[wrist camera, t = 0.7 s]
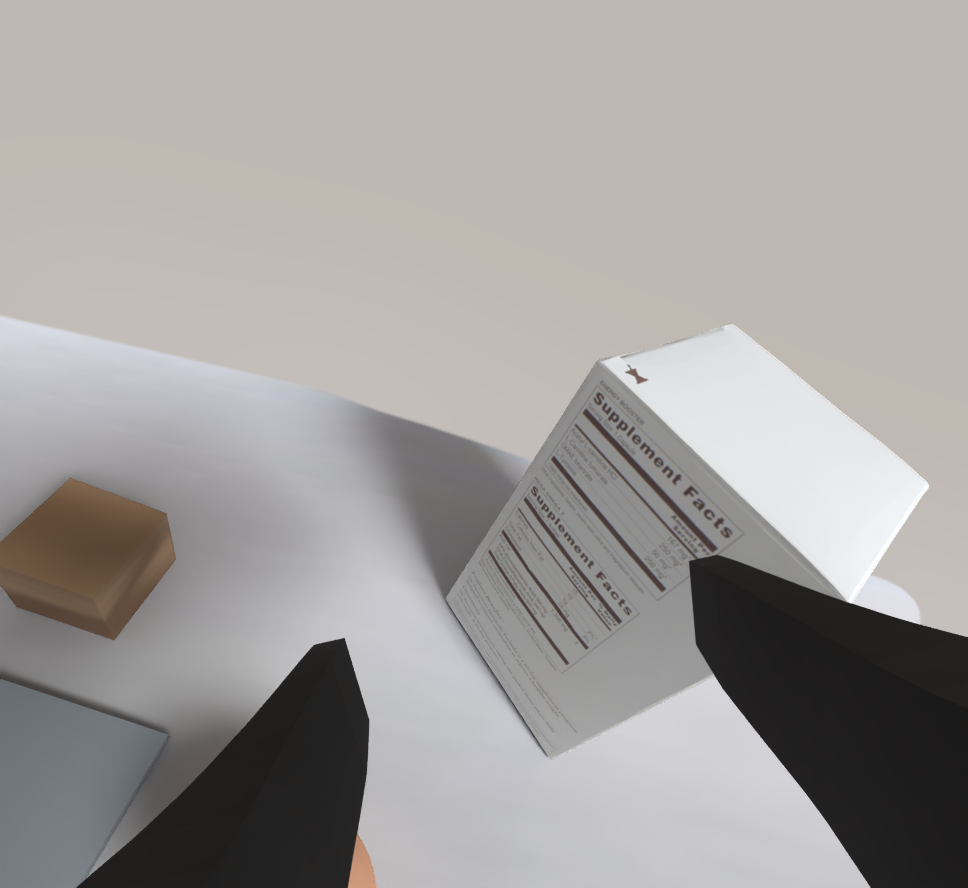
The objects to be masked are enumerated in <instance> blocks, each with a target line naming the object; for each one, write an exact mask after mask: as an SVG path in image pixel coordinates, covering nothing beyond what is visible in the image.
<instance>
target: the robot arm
mask: <svg viewBox="0 0 968 888" xmlns="http://www.w3.org/2000/svg"><path fill="white" fill-rule="evenodd" d="M689 570H690V582H691V594H692V605H693V617H694V629H695V641H696V646H697V647H698V649H699V651H700V652H701V654H702V656H703V657H704V659H705V661H706V662H707V664H708V666H709V668H710V669H711V671H712V672H713V674H714V675H715V677H716V679H717V680H718V682H719V683H720V685H721V687H722V688H723V690H724V691H725V692H726V693H727V695H728V696H729V697H730V699H731V700H732V701H733V702H734V704H735V705H736V706H737V708H738V709H739V710H740V711H741V713H742V714H743V715H744V716H745V718H746V719H747V720H748V722H749V723H750V724H751V725H752V727H753V728H754V729H755V730H756V732H757V733H758V734H759V735H760V737H761V738H762V739H763V740H764V742H765V743H766V744H767V745H768V747H769V748H770V749H771V750H772V752H773V753H774V754H775V755H776V757H777V758H778V759H779V760H780V762H781V763H782V764H783V765H784V767H785V768H786V769H787V770H788V772H789V773H790V774H791V775H792V777H793V778H794V779H795V780H796V782H797V783H798V784H799V785H800V787H801V788H802V789H803V790H804V792H805V793H806V794H807V796H808V797H809V798H810V800H811V801H812V802H813V804H814V805H815V806H816V808H817V809H818V810H819V812H820V813H821V815H822V816H823V817H824V819H825V820H826V821H827V823H828V824H829V826H830V827H831V829H832V830H833V832H834V833H835V835H836V836H837V838H838V839H839V841H840V842H841V844H842V845H843V847H844V848H845V850H846V851H847V853H848V854H849V856H850V857H851V859H852V860H853V862H854V863H855V865H856V866H857V868H858V869H859V871H860V872H861V874H862V875H863V877H864V878H865V880H866V881H867V883H868V884H869V886H870V887H871V888H968V637H964V636H961V635H957V634H953V633H949V632H946V631H942V630H938V629H934V628H931V627H927V626H923V625H919V624H915V623H912V622H909V621H905V620H902V619H898V618H895V617H892V616H888V615H885V614H882V613H879V612H876V611H873V610H870V609H867V608H864V607H861V606H858V605H855V604H852V603H849V602H846V601H843V600H840V599H837V598H834V597H832V596H829V595H826V594H823V593H820V592H818V591H815V590H812V589H810V588H807V587H804V586H801V585H799V584H796V583H794V582H791V581H788V580H786V579H783V578H780V577H778V576H775V575H773V574H770V573H767V572H765V571H762V570H760V569H757V568H754V567H752V566H749V565H746V564H744V563H741V562H738V561H736V560H733V559H730V558H727V557H723V556H720V555H713V556H708V557H704V558H699V559H695V560H690V561H689ZM368 742H369V718H368V715H367V711H366V708H365V705H364V701H363V698H362V695H361V691H360V688H359V685H358V681H357V678H356V675H355V671H354V668H353V665H352V661H351V658H350V655H349V651H348V648H347V645H346V641H345V638H342V639H338V640H334V641H329V642H325V643H320V644H316V645H314V646H313V647H312V648H311V649H310V650H309V651H308V652H307V653H306V655H305V656H304V657H303V658H302V659H301V660H300V662H299V663H298V664H297V665H296V666H295V668H294V669H293V670H292V671H291V672H290V674H289V675H288V676H287V677H286V678H285V680H284V681H283V682H282V683H281V684H280V686H279V687H278V688H277V689H276V690H275V692H274V693H273V694H272V695H271V696H270V698H269V699H268V700H267V701H266V702H265V703H264V705H263V706H262V707H261V708H260V709H259V711H258V712H257V713H256V714H255V715H254V716H253V718H252V719H251V720H250V721H249V722H248V723H247V724H246V726H245V727H244V728H243V729H242V730H241V731H240V732H239V733H238V734H237V735H236V736H235V738H234V739H233V740H232V741H231V742H230V743H229V744H228V745H227V746H226V747H225V748H224V750H223V751H222V752H221V753H220V754H219V755H218V756H217V757H216V758H215V759H214V760H213V762H212V763H211V764H210V765H209V766H208V767H207V768H206V769H205V770H204V771H203V772H202V773H201V774H200V775H199V776H198V777H197V778H196V779H195V780H194V781H193V782H192V783H191V784H190V785H189V786H188V787H187V788H186V789H185V790H184V791H183V792H182V793H181V794H180V795H179V796H178V797H177V798H176V799H175V800H174V801H173V802H172V803H171V804H170V805H169V806H168V807H167V808H166V809H165V810H164V811H163V812H161V813H160V814H159V815H158V816H157V817H156V818H155V819H154V820H153V821H152V822H151V823H150V824H149V825H148V826H147V827H146V828H144V829H143V830H142V831H141V832H140V833H139V834H138V835H137V836H136V837H134V838H133V839H132V840H131V841H130V842H129V843H128V844H126V845H125V846H124V847H123V848H122V849H121V850H119V851H118V852H117V853H116V854H115V855H113V856H112V857H111V858H110V859H109V860H108V861H106V862H105V863H104V864H103V865H102V866H101V867H99V868H98V869H97V870H96V871H95V872H94V873H92V874H91V875H90V876H89V877H88V878H86V879H85V880H84V881H83V882H82V883H81V884H79V885H78V886H77V887H76V888H348V884H349V878H350V872H351V867H352V861H353V855H354V849H355V843H356V837H357V831H358V825H359V819H360V813H361V807H362V801H363V795H364V788H365V782H366V775H367V761H368Z"/></svg>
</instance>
